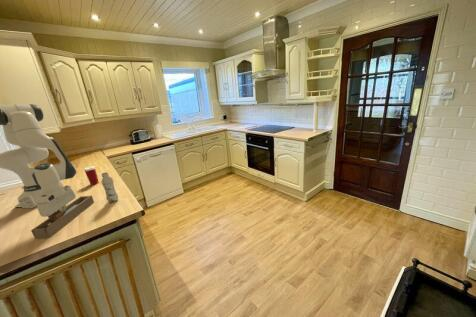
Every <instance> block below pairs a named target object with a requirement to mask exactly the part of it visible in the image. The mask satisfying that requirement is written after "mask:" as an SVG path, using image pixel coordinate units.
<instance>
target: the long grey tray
mask: <svg viewBox="0 0 476 317" xmlns="http://www.w3.org/2000/svg"><path fill="white" fill-rule="evenodd" d="M94 203H95V201H94V198H93V196H92V195H83V196H82V195H81V196H79V197H77V198H75V199H74V200H72V201H71V202H69V203H68V204H66V213H65V214H64V215H63V216H62V217H60V218H59V219H58V220H56V221H55V222H53V223H50V220H49V218H48V217H47V219H45V220H44V221H42V222H41V223H39V224H38V225H37V226H36V227H34V228H32V229H31V231H30V232H31V234H32V236H33V237H34V239H35V240H39V239H50V238H52V236H55V234H56V233H58V232H59V231H60V230H62V229H64V227H65V226H66V225H68V224H69V223H71V221H73V220H74V219H76V218H77V217H78V216H80V214H81V213H83V212H84V211H85V210H87V209H88V208H89V207H90V206H91V205H93V204H94ZM61 210H62V209H61Z"/></svg>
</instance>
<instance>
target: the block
mask: <svg viewBox="0 0 476 317" xmlns="http://www.w3.org/2000/svg"><path fill="white" fill-rule="evenodd" d="M63 215H64V213H63V211H56V212H54V213H53V214H51V215H50V216H47V219H48V218H49V220H50V223H53V222H55V221H56V220H58V219H59V218H60V217H62V216H63Z"/></svg>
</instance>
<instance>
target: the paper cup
mask: <svg viewBox="0 0 476 317" xmlns="http://www.w3.org/2000/svg"><path fill="white" fill-rule="evenodd" d="M83 171H84V172H85V175H86V176H87V177H86V178H87V180H88V181H89V184H90V185H91V186H95V185H97V184H99V183H100V181H99V178H98V174H97V170H96V166H94V165H93V166H92V165H91V166H87V167H85V168H84V170H83Z"/></svg>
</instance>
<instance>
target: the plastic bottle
mask: <svg viewBox="0 0 476 317" xmlns="http://www.w3.org/2000/svg"><path fill="white" fill-rule="evenodd" d="M101 177H102V178H101V182H100V183H101V184H102V187H103V189H104V191H105V196H106V201H107V202H108V203H114V202H117V201H118V200H119V195H118V193H117V191H116V188H115V184H114V179H113V178H112V177H111V176H110V174H109V172H102V173H101Z"/></svg>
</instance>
